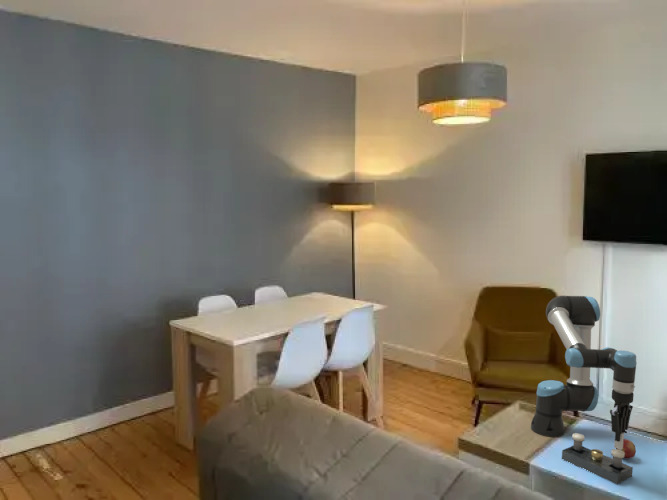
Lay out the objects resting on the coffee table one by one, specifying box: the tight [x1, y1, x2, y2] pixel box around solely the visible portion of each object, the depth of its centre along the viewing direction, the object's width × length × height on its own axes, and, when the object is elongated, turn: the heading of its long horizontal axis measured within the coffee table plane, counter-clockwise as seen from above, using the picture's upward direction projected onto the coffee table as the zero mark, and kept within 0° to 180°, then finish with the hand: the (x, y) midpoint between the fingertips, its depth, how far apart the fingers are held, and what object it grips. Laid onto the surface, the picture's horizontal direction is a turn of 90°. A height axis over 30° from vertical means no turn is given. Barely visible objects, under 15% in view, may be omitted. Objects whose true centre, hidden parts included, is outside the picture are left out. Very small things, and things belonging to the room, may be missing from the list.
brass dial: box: [590, 448, 604, 461], centre depth 226 cm, size 4×4×3 cm
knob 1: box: [572, 432, 585, 451], centre depth 233 cm, size 5×5×6 cm
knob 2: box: [610, 448, 625, 468], centre depth 219 cm, size 5×5×6 cm
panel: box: [561, 445, 634, 485], centre depth 226 cm, size 24×11×4 cm, turn 34°
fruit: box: [615, 438, 637, 460], centre depth 235 cm, size 8×8×8 cm
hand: (618, 448), depth 218 cm, fingers closed
